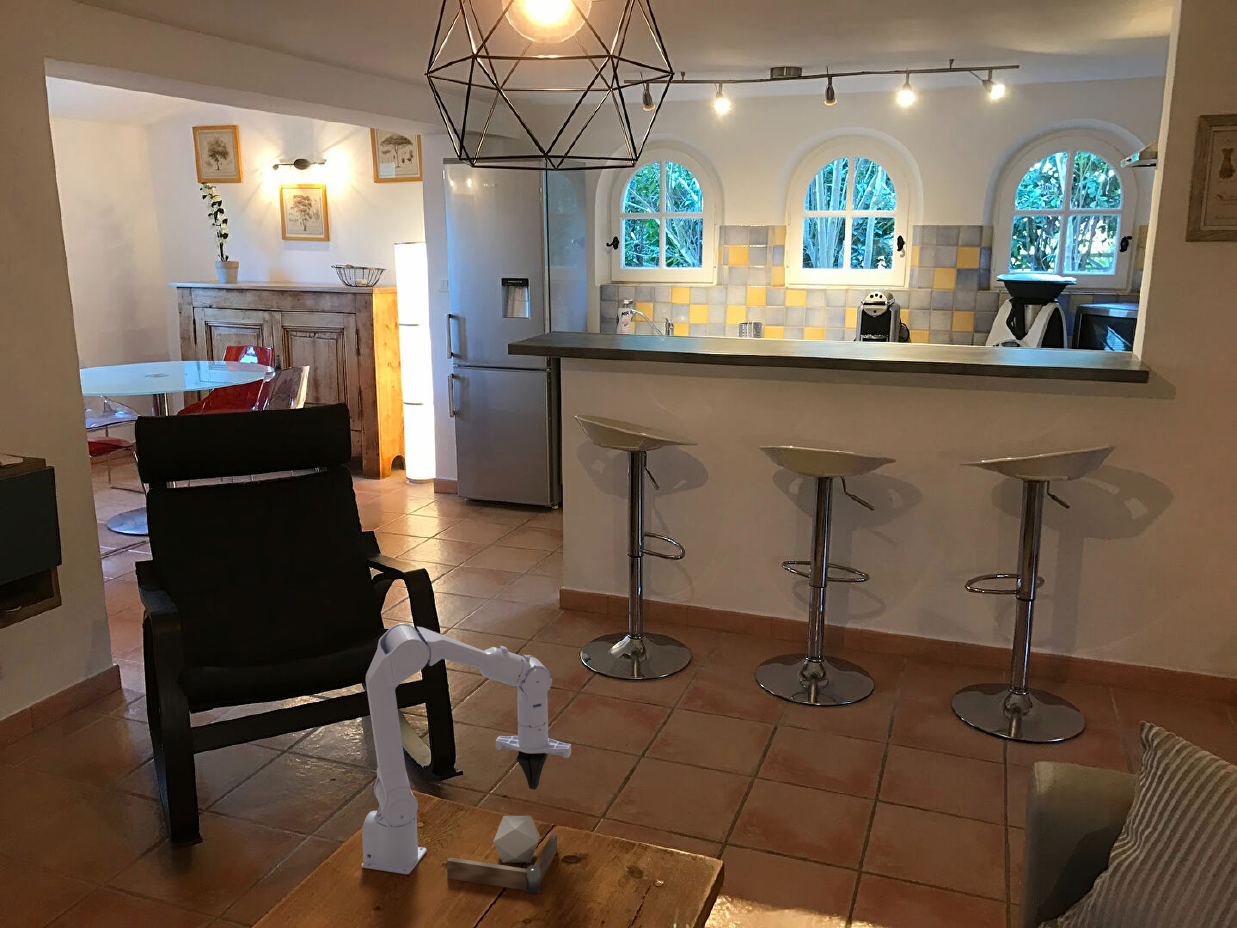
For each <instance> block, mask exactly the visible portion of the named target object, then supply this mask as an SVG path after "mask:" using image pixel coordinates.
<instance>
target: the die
mask: <svg viewBox="0 0 1237 928" xmlns="http://www.w3.org/2000/svg"><path fill="white" fill-rule="evenodd" d="M540 838H541V835H540V833H539V831H538V829H537V826H536V824H535V822H534V819H533V817H532V816H531V815H503V816H502V818H501V821H500V824H499V826H498V828H497V832H496V834H495V836H494V839H493V845H494V847H495V849H496V850H497V851H496V852H497V853H498V855H499V858H500V859H501V862H502V863H507V864H508V863H509V864H510V863H513V864H514V863H524V864H525V863H531V862H532V860H533V857H534V854H535V852H536V849H537V846H538V843H539V840H540Z"/></svg>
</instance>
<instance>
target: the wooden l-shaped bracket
mask: <svg viewBox="0 0 1237 928" xmlns="http://www.w3.org/2000/svg"><path fill="white" fill-rule="evenodd" d="M557 852H558V833H554V832H551V834H550V836H549V837H548V840H547V841H546V843H545V844H544V846H543V848H542V851H541V852H540V854H539V855H538V857H537V859H536V860H535V862H534V864H532V865H528V866H527V867H526V868H522V867H517V866H510V865H502V864H496V863H488V862H484V861H483V862H482V861H476V860H468V859H462V858H455V857H448V859H447V860H446V876H447V879H448V880H449V879H450V880H456V881H457V880H458V881H462V882H463V881H464V882H469V883H470V882H471V883H476V884H482V885H489V886H495V887H503V888H509V889H514V890H515V889H516V890H520V891H522V890H523V891H526V892H527V893H528V894H530V895H535V894H538V893H540V891H541V882H542V880H543V879H544V876H545V875H546V873H547V871H548V869H549V867H550V866H551V863H552V862H553V860H554V858H555V856H556V853H557Z"/></svg>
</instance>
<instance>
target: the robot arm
mask: <svg viewBox="0 0 1237 928" xmlns="http://www.w3.org/2000/svg"><path fill="white" fill-rule="evenodd" d="M416 628H417V630H416ZM416 628H415V627H414V626H413V625H411V624H410V623H405V622H404V623H403V622H401V623H395V624H394V625H392V626H390V628H389V629H388V630H386V632H385V633H383V635H382V636H381V637H380V638H379V639H378V643H377V647H376V648H377V649H376V652H375V654H374V656H373V659H372V661H371V663H370V666H369V667H368V669H367V672H366V673H365V685H366V692H367V693H366V694H367V698H368V699H367V700H368V707H369V713H370V721H371V726H372V727H371V728H372V733H373V734H372V735H373V742H374V748H375V755H376V756H375V757H376V762H377V763H376V764H377V768H376V781H375V782H374V786H373V793H374V796H375V798H376V799H377V802H378V804H379V806H378V808H377V810H370V811H369V812H368V814H367V815H366V817H365V819H364V821H363V825H362V828H361V829H362V831H361V833H362V834H361V837H362V841H361V842H362V859H363V862H362V863H361V868H363V869H371V870H377V871H384V872H389V873H395V874H403V875H410V873H412V871H414V868H415V867H416V866H417V864H418V863H419V862H420V861H421V859H422V858H423V857H424V855H425V854H426V853H427V851H428V850H427V848H426V847H419V843H418V840H419V839H418V821H417V817H418V816H417V813H418V810H419V804H418V799H417V798H416V797H415V796H414V794H413V792H412V789H411V785H410V781H409V777H408V773H407V768H406V761H405V754H404V748H403V740H402V731H401V723H400V717H399V711H398V703H397V696H396V688H397V687H398V686H399V685H400V684H401V683H402V682H404V681H405V680H407V679H409V678H411V677H412V676H414V675H415V674H417V673H418V672H420V671H422V670H423V669H424V668H425V667H426V665H427V664H428V666H429V667H430V666H431V667H432V666H433V665H435V664H437V663H438V662H439V661H441V660H446V661H450V662H453V663H456V664H462V665H465V666H467V667H468V666H469V667H473V668H476V669H479V671H480V674H481V675H482V677H484V678H486V679H489V680H492V681H496V682H499V683H503V684H505V685H507V686H511V687H517V701H516V702H517V735H510V736H508V735H507V736H505V735H504V736H503V735H499V736H498V737H497V738H496V739H495V750H498V751H501V750H502V749H504V750H511V751H518V754H517V756H516V762H517V763H518V764H519V766H520V767H521V769H522V771H523V772H524V776H525V778H526V781H527V786H528V789H530V790H537V788H538V787H539V785H540V780H541V779H540V778H541V774H542V771H543V767H544V764H546V763H545V762H546V760H547V758H548V756H549V755H551V756H552V755H555V756H562V757H563V758H565V759H569V758H570V756H571V754H572V744H571V743H565V742H562V741H558V740H557V739H554V738H553V739H552V738H549V713H548V712H549V710H548V709H549V707H548V706H549V705H548V704H549V701H548V691H549V690H550V688H551V686H552V684H553V678H551V673H550V671H549V670H548V669H547V667H546V666H545V665H544V664H543V663H542V662H541V661H540V660H539V659H538V658H536V657H535V656H533V655H532V654H523V655H519V654H517V653H514V652H511V651H509V649H508V647H506V646H503V645H500V647H499V648H498V647H496V646H491V647H489V648H487V649H485V650H483V649H481V648H477V647H475V646H472V645H470V644H468V643H465V642H462V641H459V640H458V639H454V638H452V637H449V636H446V635H443V634H442V633H438V632H437V631H433V630H431V629H428V628H425V627H422V626H416Z"/></svg>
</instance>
